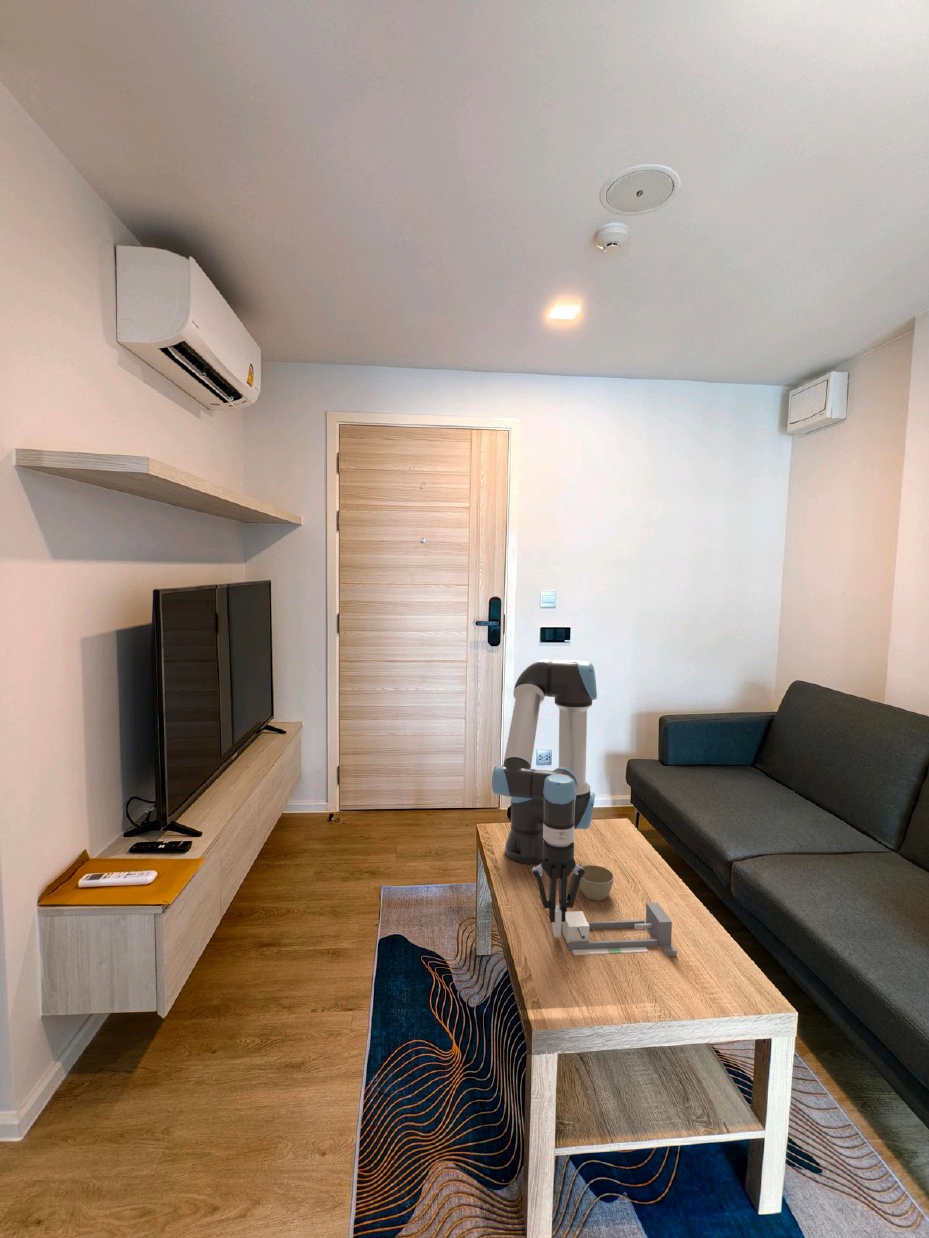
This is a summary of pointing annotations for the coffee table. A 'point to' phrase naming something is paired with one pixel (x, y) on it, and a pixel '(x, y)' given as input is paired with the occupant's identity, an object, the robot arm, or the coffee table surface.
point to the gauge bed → (654, 923)
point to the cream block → (575, 927)
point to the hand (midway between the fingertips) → (556, 933)
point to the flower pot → (596, 882)
